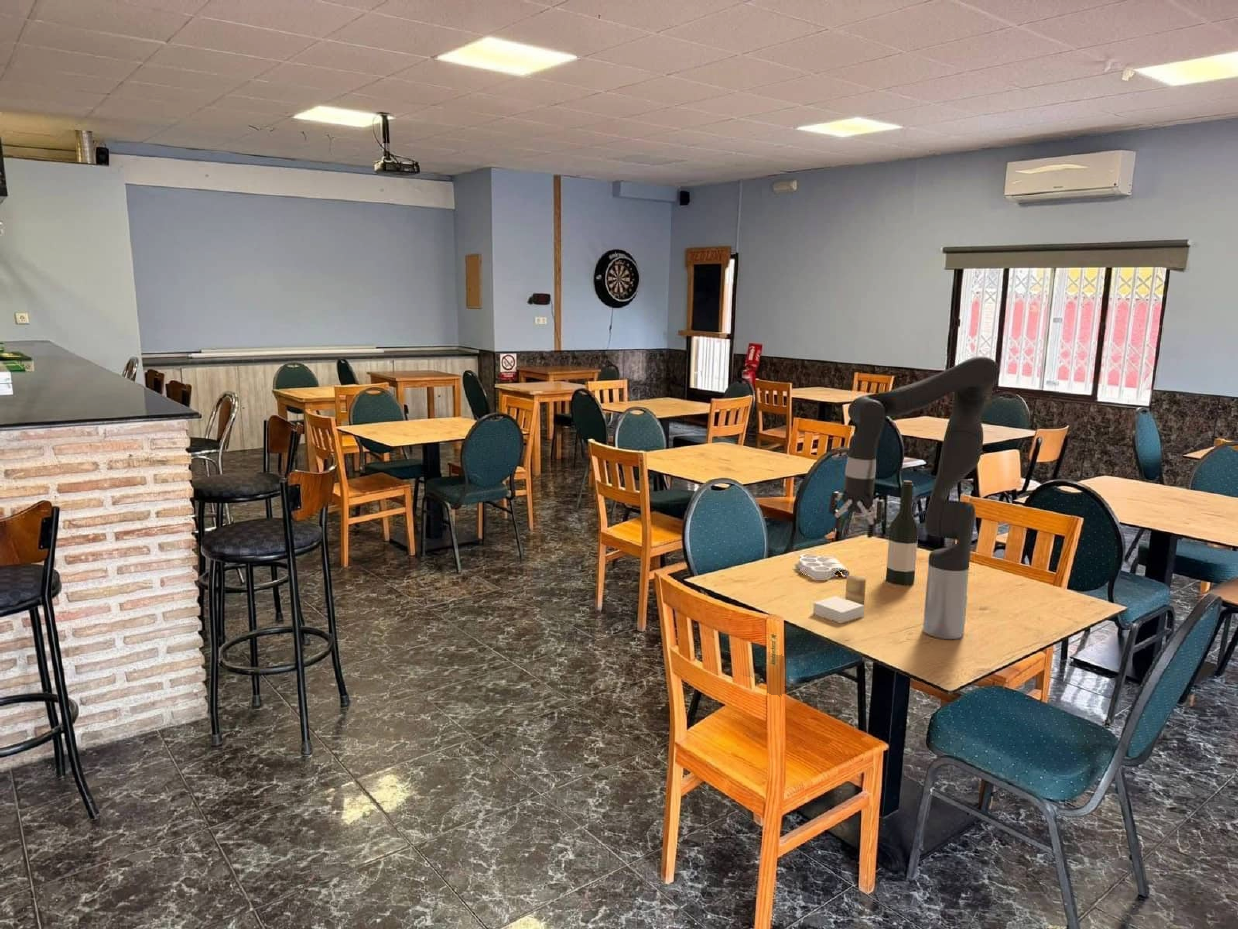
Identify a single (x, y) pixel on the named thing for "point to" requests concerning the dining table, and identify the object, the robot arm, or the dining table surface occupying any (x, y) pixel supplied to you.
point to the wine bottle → (903, 541)
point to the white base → (838, 609)
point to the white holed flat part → (820, 566)
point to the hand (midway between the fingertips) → (854, 533)
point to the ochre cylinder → (855, 589)
